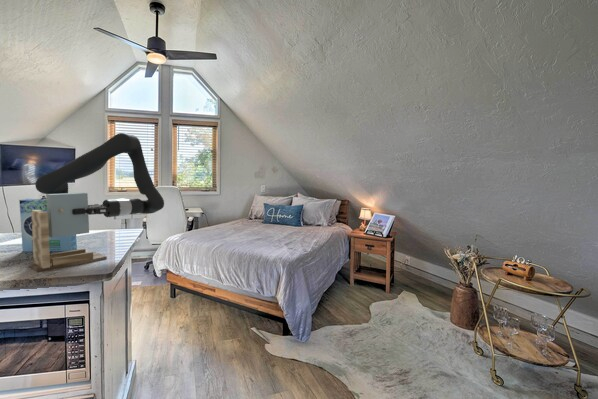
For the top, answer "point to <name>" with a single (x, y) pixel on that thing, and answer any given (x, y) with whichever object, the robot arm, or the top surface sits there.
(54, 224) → the grey flat block
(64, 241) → the gum box
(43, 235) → the hinge base
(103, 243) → the top surface
